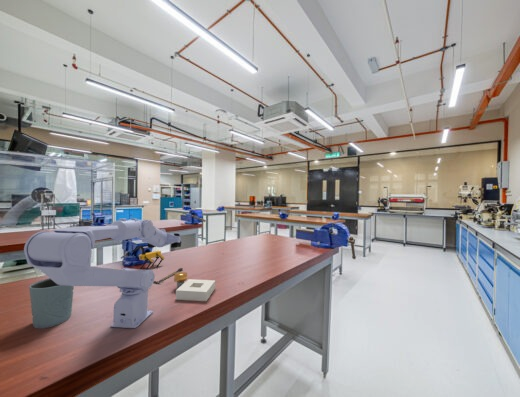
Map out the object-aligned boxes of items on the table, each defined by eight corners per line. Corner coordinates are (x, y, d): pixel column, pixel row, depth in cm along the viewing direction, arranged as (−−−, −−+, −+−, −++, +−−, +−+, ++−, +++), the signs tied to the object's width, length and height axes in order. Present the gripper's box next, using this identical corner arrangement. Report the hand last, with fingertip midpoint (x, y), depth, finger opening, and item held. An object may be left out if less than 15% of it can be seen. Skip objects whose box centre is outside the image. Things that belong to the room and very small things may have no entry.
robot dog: (127, 272, 112) (128, 246, 112) (157, 263, 128) (158, 241, 129) (134, 274, 110) (135, 247, 110) (164, 265, 126) (165, 242, 126)
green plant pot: (75, 320, 67) (77, 281, 68) (28, 335, 60) (29, 291, 60) (70, 309, 74) (71, 273, 74) (27, 320, 67) (28, 281, 67)
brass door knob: (183, 290, 91) (184, 276, 91) (171, 289, 92) (172, 275, 92) (188, 285, 97) (189, 272, 97) (177, 285, 97) (177, 271, 97)
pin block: (206, 301, 82) (206, 292, 82) (175, 299, 83) (175, 290, 83) (215, 288, 94) (215, 280, 94) (188, 287, 95) (188, 279, 95)
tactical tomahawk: (164, 287, 97) (164, 285, 97) (151, 284, 98) (152, 282, 98) (190, 271, 117) (190, 269, 117) (179, 269, 119) (180, 267, 119)
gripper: (175, 225, 80) (189, 235, 92) (138, 225, 81) (157, 235, 94) (171, 244, 77) (186, 251, 89) (133, 244, 78) (153, 251, 91)
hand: (171, 244), depth 91 cm, fingers open, 7 cm apart
